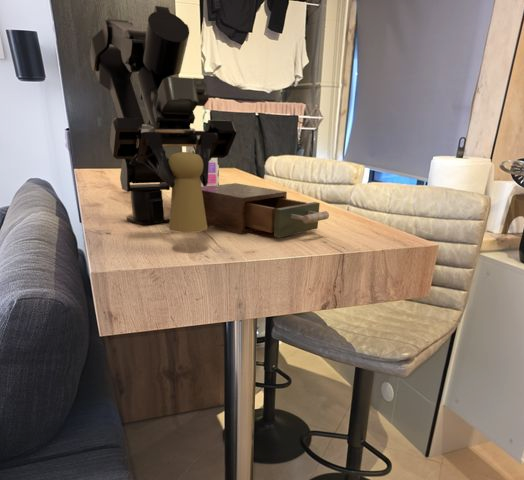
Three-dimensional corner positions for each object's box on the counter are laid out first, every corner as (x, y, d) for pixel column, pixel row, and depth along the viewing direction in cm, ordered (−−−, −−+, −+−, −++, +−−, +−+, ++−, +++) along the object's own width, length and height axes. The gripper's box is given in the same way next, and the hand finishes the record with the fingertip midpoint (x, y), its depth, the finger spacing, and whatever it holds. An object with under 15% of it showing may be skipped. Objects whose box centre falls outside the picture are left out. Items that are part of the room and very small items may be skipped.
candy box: (220, 212, 103) (219, 132, 95) (194, 213, 102) (191, 131, 94) (211, 201, 115) (209, 129, 107) (187, 202, 113) (184, 129, 106)
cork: (189, 221, 76) (186, 150, 71) (215, 228, 73) (214, 153, 67) (161, 227, 72) (156, 151, 67) (187, 234, 68) (183, 155, 63)
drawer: (335, 232, 85) (338, 206, 83) (297, 242, 77) (299, 213, 75) (266, 217, 95) (266, 193, 93) (226, 224, 88) (226, 199, 86)
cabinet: (285, 225, 93) (286, 191, 90) (241, 234, 85) (242, 197, 82) (235, 214, 102) (235, 183, 99) (191, 221, 94) (190, 188, 91)
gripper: (103, 49, 60) (132, 147, 57) (231, 60, 68) (263, 146, 65) (100, 114, 70) (124, 201, 67) (212, 117, 78) (239, 195, 75)
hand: (189, 185), depth 68 cm, fingers closed on cork, 5 cm apart
